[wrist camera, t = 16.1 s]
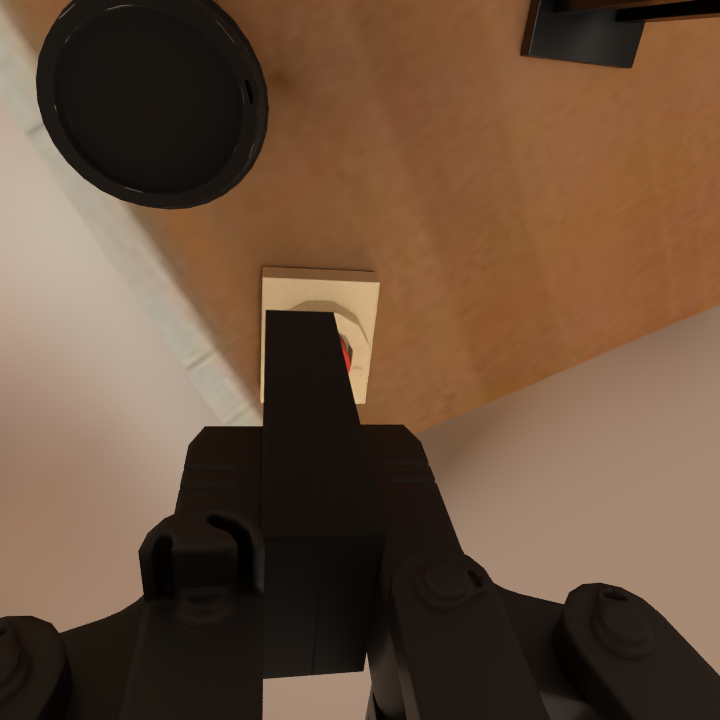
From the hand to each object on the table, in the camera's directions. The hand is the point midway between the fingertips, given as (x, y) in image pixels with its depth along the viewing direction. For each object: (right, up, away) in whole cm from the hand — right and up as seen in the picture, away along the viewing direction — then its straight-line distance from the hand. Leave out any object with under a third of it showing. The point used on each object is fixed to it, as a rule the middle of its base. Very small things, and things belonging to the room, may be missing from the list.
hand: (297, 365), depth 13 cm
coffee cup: (-8, +16, +20) cm, 27 cm away
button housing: (-2, +2, +29) cm, 29 cm away
